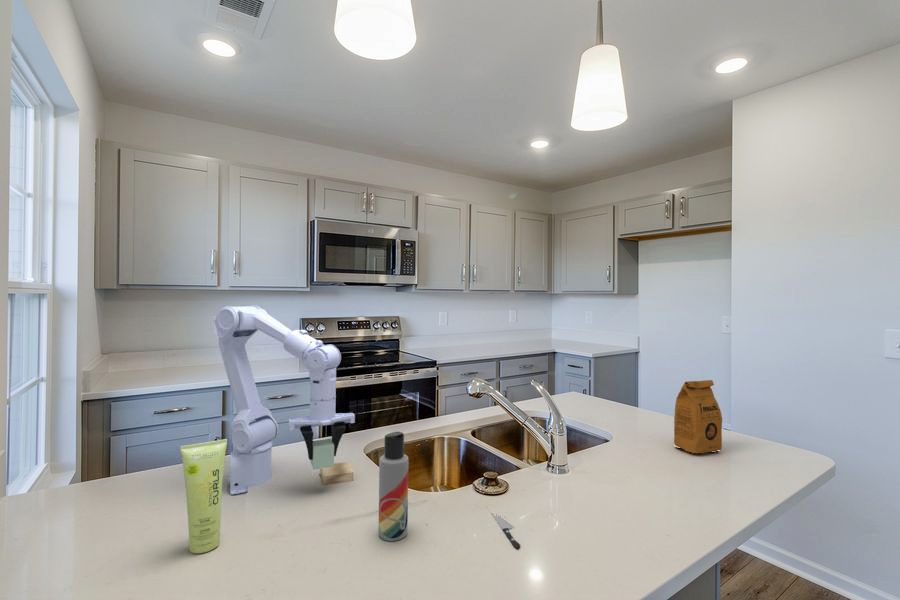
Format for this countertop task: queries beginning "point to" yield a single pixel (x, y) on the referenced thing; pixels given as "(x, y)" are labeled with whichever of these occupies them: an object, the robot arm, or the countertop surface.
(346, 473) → the tower top
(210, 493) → the tube
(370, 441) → the countertop surface
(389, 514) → the lotion bottle
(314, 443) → the sage block
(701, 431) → the coffee package
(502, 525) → the chef's knife
